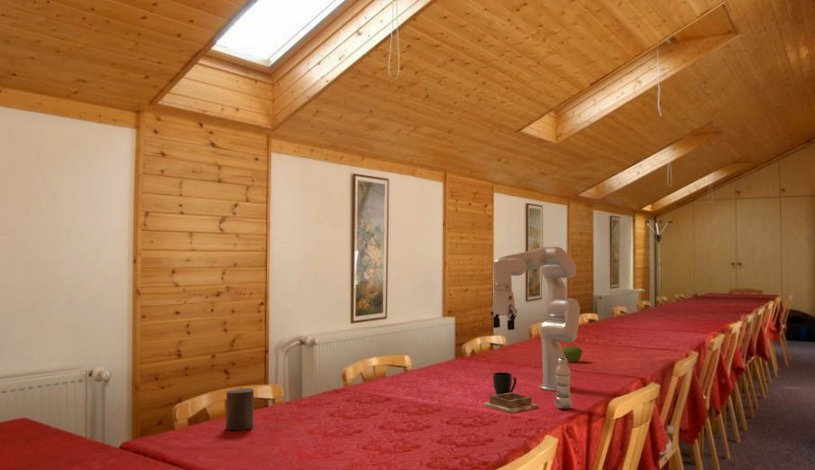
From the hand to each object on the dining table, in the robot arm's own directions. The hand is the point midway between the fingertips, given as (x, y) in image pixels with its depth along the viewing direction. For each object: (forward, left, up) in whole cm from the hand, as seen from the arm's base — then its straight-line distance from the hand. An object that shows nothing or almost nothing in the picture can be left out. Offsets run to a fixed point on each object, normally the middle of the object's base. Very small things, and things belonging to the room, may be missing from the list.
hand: (503, 328), depth 262 cm
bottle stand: (+2, +6, -31) cm, 32 cm away
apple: (-100, -57, -32) cm, 120 cm away
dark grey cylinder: (+105, -25, -32) cm, 112 cm away
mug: (-9, -10, -32) cm, 34 cm away
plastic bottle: (-13, +21, -32) cm, 40 cm away
